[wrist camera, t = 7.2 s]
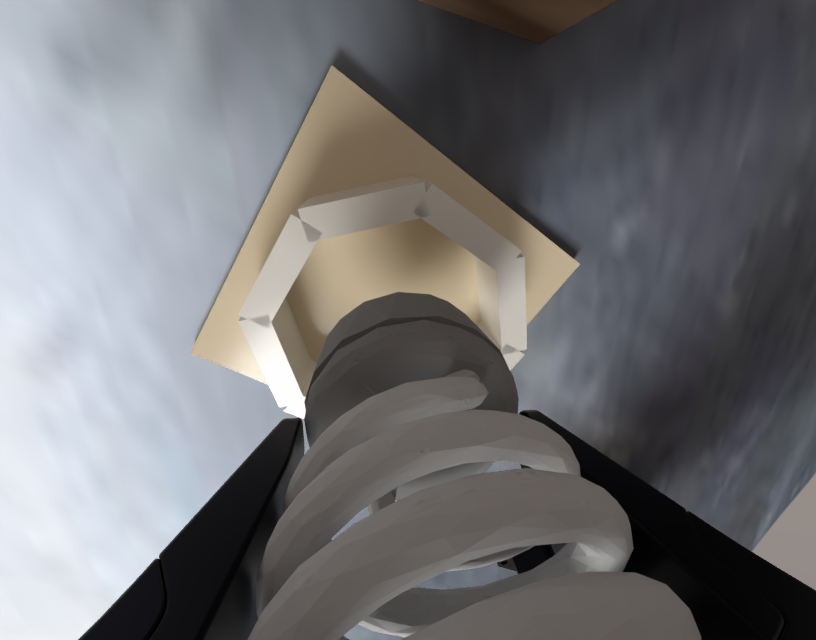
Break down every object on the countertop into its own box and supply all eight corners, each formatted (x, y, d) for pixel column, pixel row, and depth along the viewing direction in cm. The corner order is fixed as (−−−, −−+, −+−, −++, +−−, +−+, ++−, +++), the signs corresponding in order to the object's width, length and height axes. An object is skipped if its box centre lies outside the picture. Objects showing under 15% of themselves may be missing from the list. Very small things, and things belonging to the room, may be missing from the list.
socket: (573, 260, 15) (619, 284, 13) (420, 439, 19) (430, 487, 16) (332, 68, 11) (325, 43, 8) (195, 347, 15) (159, 391, 12)
